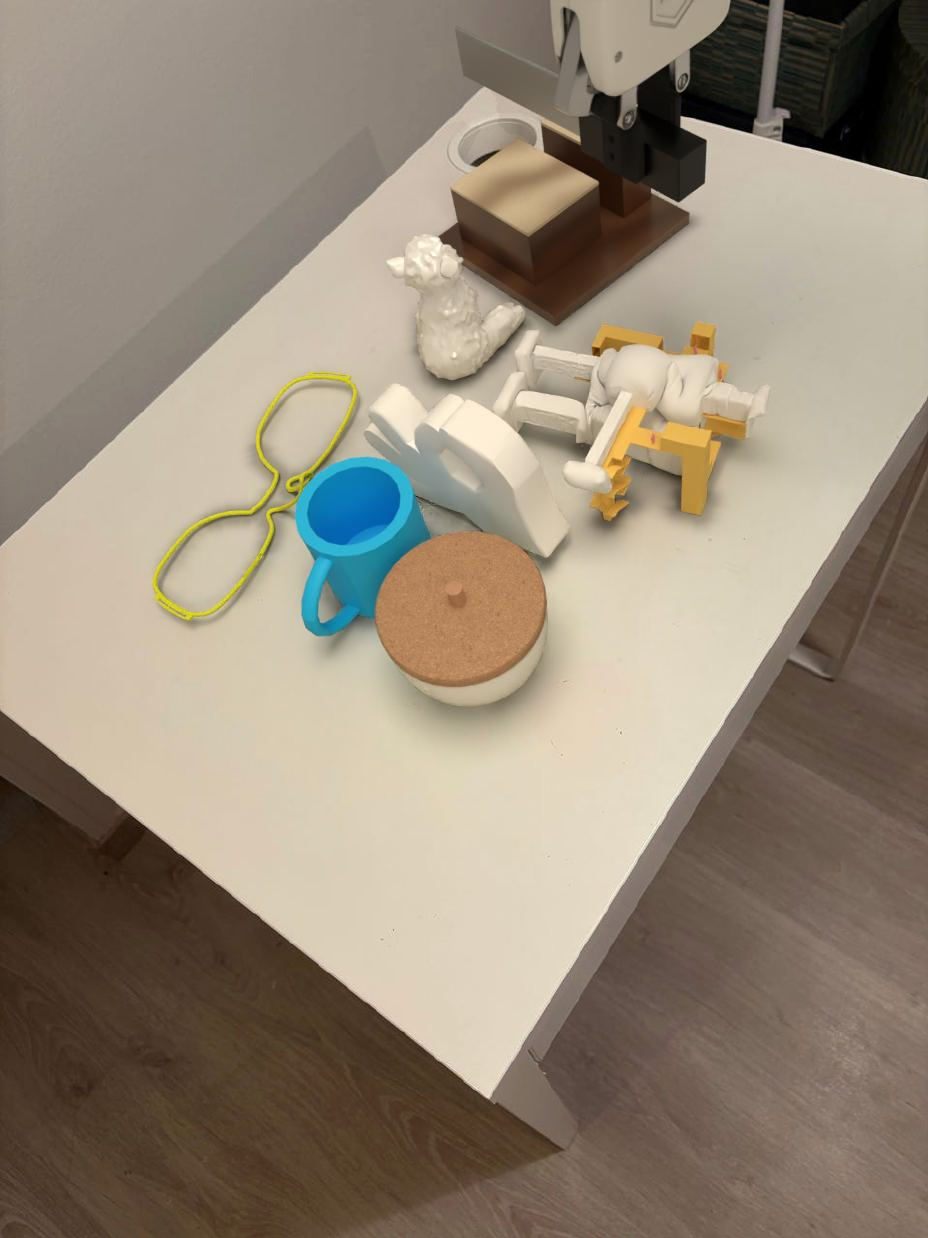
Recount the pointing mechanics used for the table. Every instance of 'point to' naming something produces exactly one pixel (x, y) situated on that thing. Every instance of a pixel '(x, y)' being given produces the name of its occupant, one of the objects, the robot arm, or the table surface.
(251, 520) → the table surface
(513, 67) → the tall black pillar
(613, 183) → the wooden step piece
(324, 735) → the table surface
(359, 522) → the mug
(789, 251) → the table surface
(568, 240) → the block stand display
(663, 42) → the robot arm
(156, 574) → the glasses
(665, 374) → the figure
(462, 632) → the trinket box
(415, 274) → the white creature statuette
